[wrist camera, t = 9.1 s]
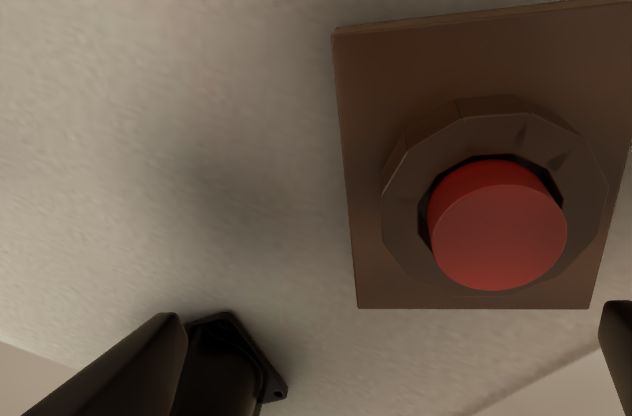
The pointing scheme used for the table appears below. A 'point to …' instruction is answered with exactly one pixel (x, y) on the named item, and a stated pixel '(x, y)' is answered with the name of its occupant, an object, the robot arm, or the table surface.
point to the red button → (494, 225)
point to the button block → (482, 137)
